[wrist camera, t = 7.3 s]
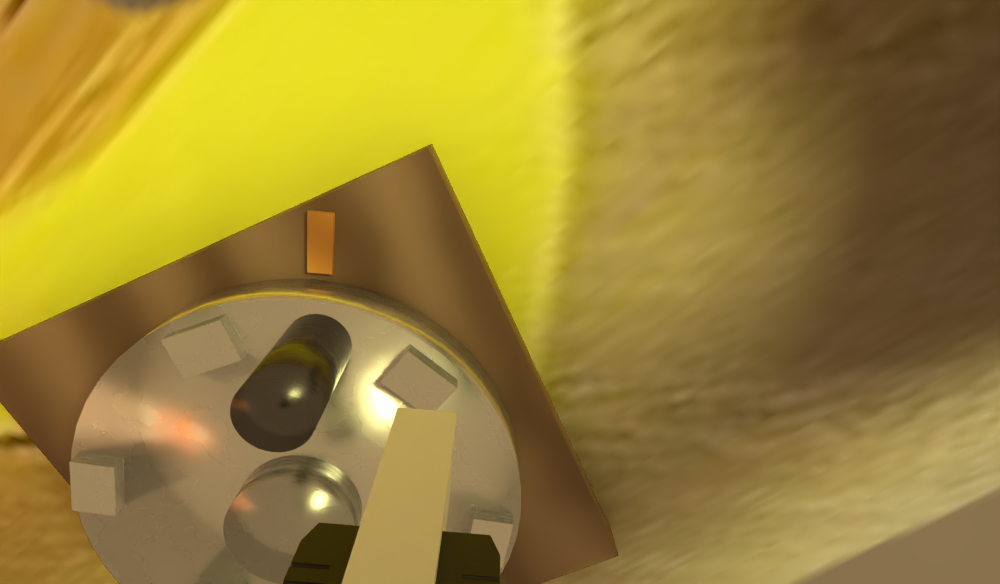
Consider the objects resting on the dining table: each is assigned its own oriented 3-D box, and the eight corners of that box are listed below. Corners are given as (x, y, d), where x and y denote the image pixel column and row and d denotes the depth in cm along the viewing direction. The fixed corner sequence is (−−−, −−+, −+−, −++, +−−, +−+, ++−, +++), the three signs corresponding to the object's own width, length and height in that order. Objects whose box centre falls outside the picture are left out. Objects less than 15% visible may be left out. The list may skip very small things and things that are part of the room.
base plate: (431, 143, 29) (427, 148, 26) (611, 531, 37) (619, 559, 35) (-5, 343, 32) (-41, 362, 29) (252, 661, 40) (239, 694, 38)
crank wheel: (478, 640, 37) (476, 808, 28) (112, 595, 35) (-8, 761, 26) (558, 320, 29) (588, 415, 21) (103, 240, 27) (-67, 311, 19)
